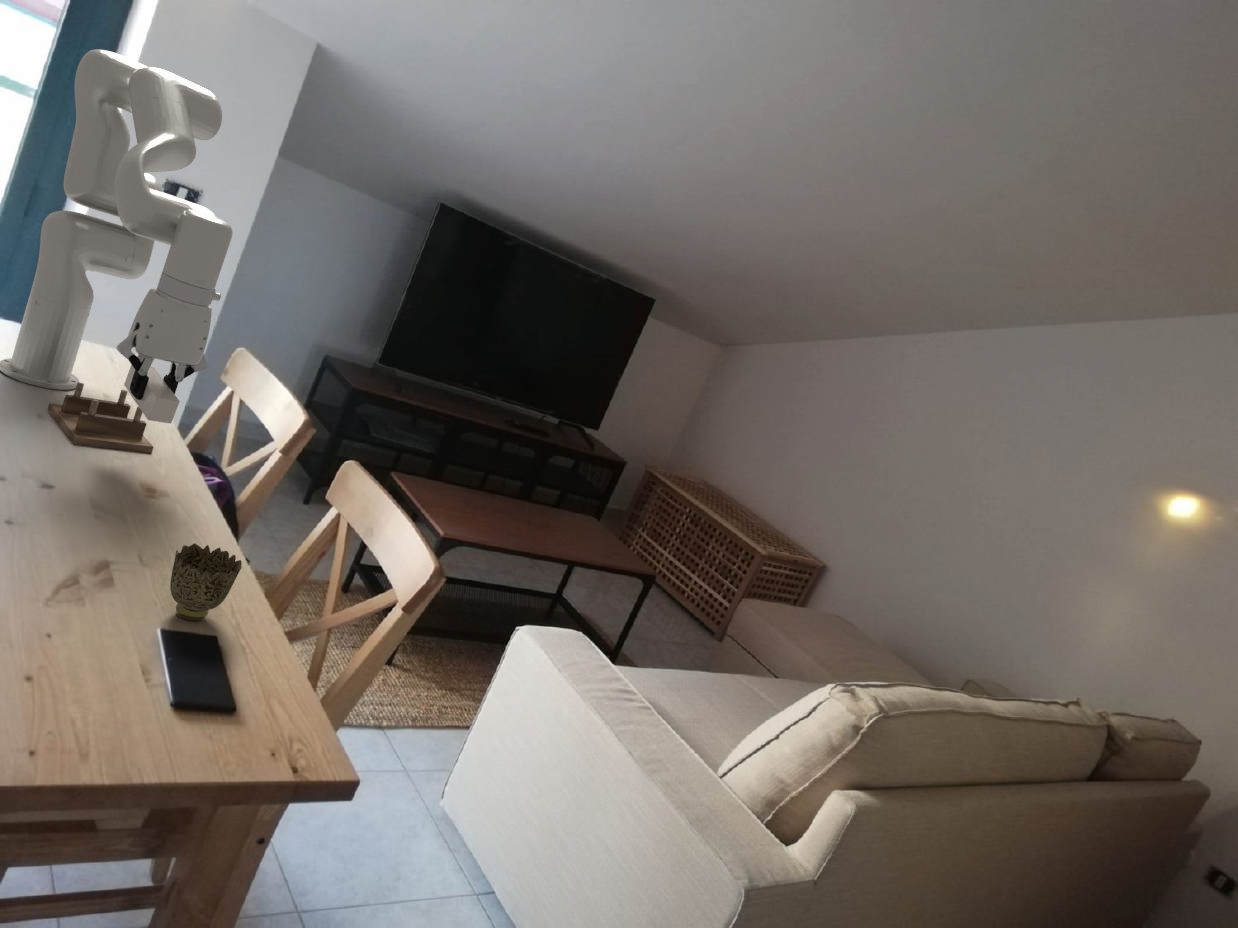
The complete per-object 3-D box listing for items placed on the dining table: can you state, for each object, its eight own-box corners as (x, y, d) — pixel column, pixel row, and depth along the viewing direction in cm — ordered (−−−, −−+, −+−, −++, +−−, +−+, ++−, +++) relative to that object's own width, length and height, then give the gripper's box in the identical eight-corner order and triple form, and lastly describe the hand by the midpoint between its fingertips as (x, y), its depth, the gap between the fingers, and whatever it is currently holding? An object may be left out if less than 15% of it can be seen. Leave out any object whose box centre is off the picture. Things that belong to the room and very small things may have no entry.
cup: (178, 593, 108) (197, 537, 107) (233, 616, 108) (252, 560, 107) (143, 614, 101) (163, 553, 99) (202, 638, 101) (223, 578, 100)
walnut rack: (47, 409, 147) (58, 373, 146) (122, 420, 157) (132, 386, 156) (74, 444, 138) (85, 406, 137) (151, 453, 148) (163, 417, 147)
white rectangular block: (123, 384, 139) (132, 363, 138) (146, 388, 142) (154, 367, 141) (147, 420, 132) (156, 397, 131) (171, 423, 135) (179, 401, 134)
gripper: (227, 297, 142) (192, 398, 145) (120, 268, 129) (85, 380, 132) (246, 312, 138) (210, 416, 141) (137, 283, 125) (100, 399, 128)
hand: (150, 397), depth 137 cm, fingers closed on white rectangular block, 3 cm apart
